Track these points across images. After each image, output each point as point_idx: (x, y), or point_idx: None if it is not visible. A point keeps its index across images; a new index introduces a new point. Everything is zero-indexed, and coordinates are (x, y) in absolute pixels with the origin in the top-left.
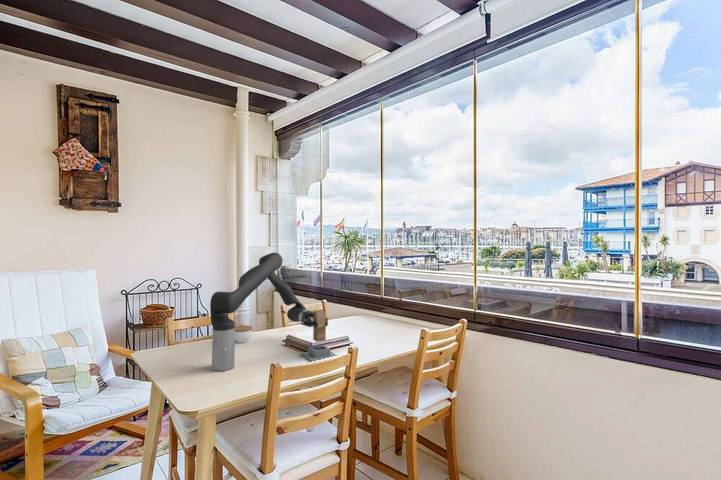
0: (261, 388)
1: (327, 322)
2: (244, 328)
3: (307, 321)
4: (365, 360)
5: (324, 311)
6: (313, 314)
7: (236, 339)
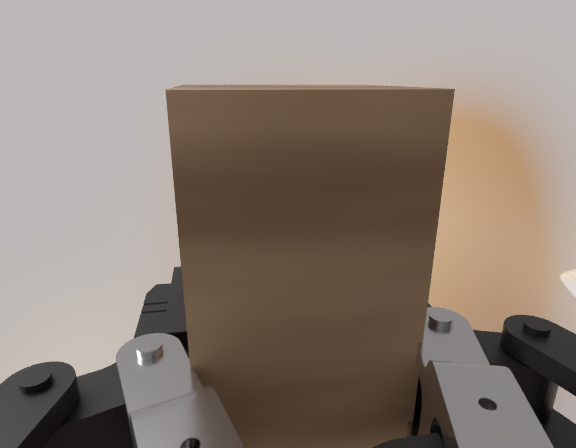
0: (568, 288)
1: (162, 287)
2: None
3: (557, 329)
4: None
5: (198, 85)
6: (439, 194)
7: None
